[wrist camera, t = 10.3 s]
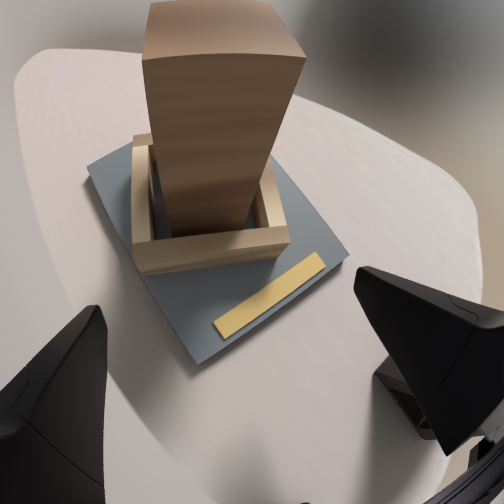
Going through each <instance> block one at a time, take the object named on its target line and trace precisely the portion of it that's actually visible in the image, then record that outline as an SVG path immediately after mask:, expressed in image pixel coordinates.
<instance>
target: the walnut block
mask: <svg viewBox="0 0 504 504" xmlns="http://www.w3.org/2000/svg"><path fill="white" fill-rule="evenodd" d="M306 58H307V57H306V56H305V54H304V52H303V51H302V49H301V48H300V46H299V45H298V43H297V42H296V40H295V38H294V37H293V35H292V34H291V32H290V31H289V29H288V28H287V27H286V25H285V24H284V22H283V21H282V19H281V18H280V16H279V15H278V14H277V12H276V11H275V10H274V8H273V7H272V5H271V4H270V3H269V2H266V1H255V0H178V1H166V2H157V3H151V6H150V11H149V16H148V22H147V27H146V34H145V40H144V47H143V55H142V67H143V76H144V84H145V92H146V100H147V107H148V114H149V120H150V127H151V133H152V139H153V145H154V151H155V157H156V162H157V168H158V173H159V178H160V183H161V188H162V193H163V198H164V203H165V207H166V212H167V216H168V221H169V225H170V230H171V234H172V238H179V237H187V236H195V235H204V234H212V233H221V232H230V231H239V230H242V229H243V226H244V223H245V221H246V218H247V215H248V212H249V209H250V207H251V204H252V201H253V198H254V196H255V193H256V190H257V187H258V185H259V182H260V179H261V177H262V174H263V171H264V168H265V166H266V163H267V160H268V158H269V155H270V152H271V150H272V147H273V144H274V142H275V139H276V136H277V134H278V131H279V128H280V126H281V123H282V120H283V118H284V115H285V112H286V110H287V107H288V105H289V102H290V99H291V97H292V94H293V91H294V89H295V86H296V84H297V81H298V79H299V76H300V73H301V71H302V68H303V66H304V63H305V61H306Z"/></svg>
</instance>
